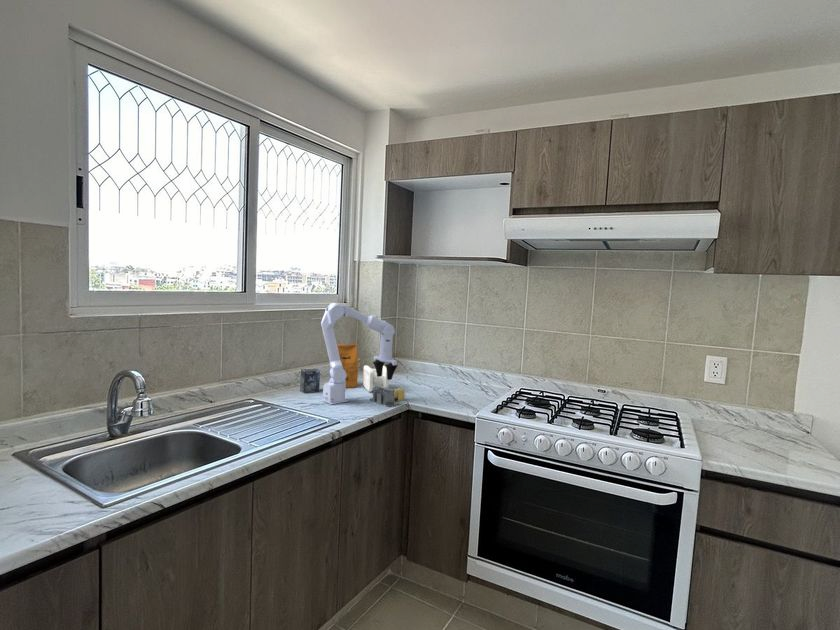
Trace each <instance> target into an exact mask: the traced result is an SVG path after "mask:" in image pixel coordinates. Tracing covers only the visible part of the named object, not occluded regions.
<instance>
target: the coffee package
mask: <svg viewBox="0 0 840 630" xmlns="http://www.w3.org/2000/svg"><path fill="white" fill-rule="evenodd" d="M337 347H338V352H339V356H340V360H341V363H342V366H343V369H344V370H345V371H346V374H347V377H346V379H345V380H346V387H345V389H351V388H356V387H358V376H359V373H358V372H359V355H358V347H357V343H350V344H339V343H337Z"/></svg>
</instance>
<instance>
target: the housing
mask: <svg viewBox="0 0 840 630" xmlns="http://www.w3.org/2000/svg"><path fill="white" fill-rule="evenodd" d="M384 390H385V391H384ZM377 393H383V394H384V399H383V404H382V405H383V406H384V405H385V406H384V407H386V408H387V407H388V408H392V406H393V407H397V406H396V405H398V403H397V402H395V401H394V393H395V390H394V388H393V389H392V388H389V387H388V388H387V387H383V386H379V387H375V389H374V388H373V390H372V398H371V397H370V398H369V401H371V402H373V403H377Z"/></svg>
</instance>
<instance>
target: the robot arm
mask: <svg viewBox="0 0 840 630" xmlns="http://www.w3.org/2000/svg"><path fill="white" fill-rule="evenodd" d="M342 317H351V318H354V319H356V320H358V321H361V322H363V323H364V324H365V326H366V328H369V329H371V330H373V331H375V332H376V333H380V341H379V354H378V355H374V356H373V361H372V365H374V369H376V373H377V377H380V376H382V369H383V365H384V366H385V367H386V369H387V380H389V381H390V380H392V379H393V375H394V373H395V371H396V369H397V367H398V360H396V359H394V358H393V357H392V356H393V338H394V337H393V335H394V334H395V333H396V329H395V327H394V325H392V324H391V323H389V322H387V320H382V319H380V318H378V316H377V315H375V314H374V315H372V314H371V315H366V314H363V313H362V312H360V311H358V310H356V309H355V308H352V307H350V306H347V305H344V304H341V303H338V302H331V303H329V305H328V306H327V307H326V308H325V311H324V313H323V316H322V319H321V322H320V325H321V330H322V333H323V338H324V343H325V347H326V352H327V356H328V359H329V367H330V369H329V375H330V379H329V380H328V382H325V383H324V384H323V388H322V399H321V401H323V402H324V403H327V404H330V405H335V404H341V403H346V402H347V403H348V402H349V401H350V400H349V399H347V398H346V388H345V387H346V380H345V379H346V377H347V374H346V371H345V370H344V369H343V366H342V363H341V360H340V356H339V352H338V347H337V344H338V343H337V338H336V334H335V331H334V325H335V324H336V323H337V321H338V320H340V319H341V318H342ZM385 363H386V364H385Z"/></svg>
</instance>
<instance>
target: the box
mask: <svg viewBox="0 0 840 630" xmlns="http://www.w3.org/2000/svg"><path fill="white" fill-rule="evenodd" d="M320 381H321V370H319V369H318V368H305V369H303V368H302V369H300V381H299V382H300V383H299V385H300V387H299V391H300V392H301V393H303V394H308V393H319V392H320V387H321V385H320V383H321V382H320Z"/></svg>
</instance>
